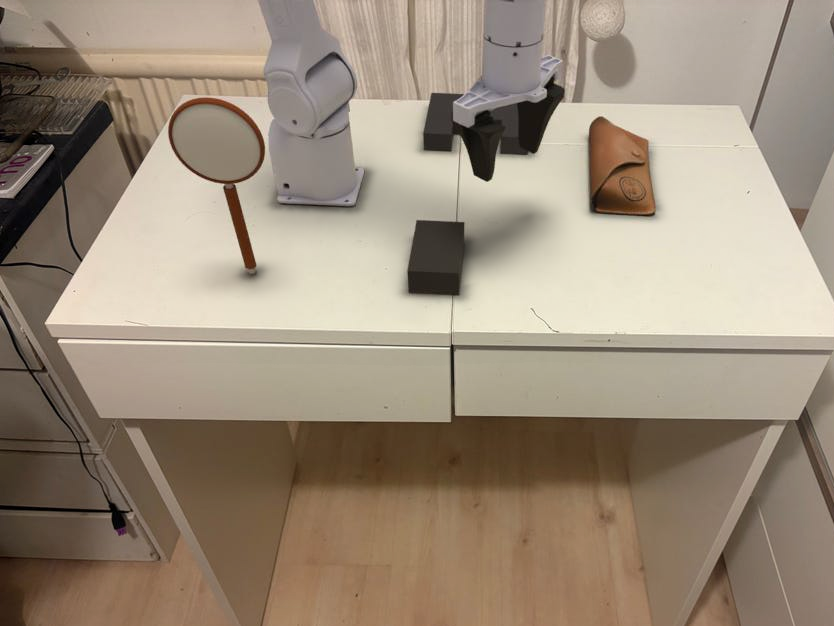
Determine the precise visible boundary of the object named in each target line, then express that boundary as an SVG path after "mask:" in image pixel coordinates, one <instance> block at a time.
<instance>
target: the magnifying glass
mask: <svg viewBox="0 0 834 626" xmlns="http://www.w3.org/2000/svg"><path fill="white" fill-rule="evenodd" d="M167 132H168V133H167V135H168V141H169V144H170V147H171V149H172V151H173V153H174V155H175V156H176V158H177V159H178V160H179V162H180V163H181V164H182V166H183V167H185V168H186V169H188V170H189V171H190V172H191V173H193V174H194V175H196V176H197V177H199V178H202V179H203V180H206V181H208V182H210V183H211V182H212V183H215V184H221V185H223V187H222V189H223V193H224V196H225V200H226V203H227V207H228V210H229V214H230V218H231V221H232V224H233V225H232V226H233V229H234V231H235V236H236V239H237V242H238V247H239V249H240V254H241V257H242V261H243V264H244V268H245V269H246V270H248V273H249V274H251V275H252V274H253V275H254V274H255V273H256V272H257V270H256V268H257V262H256V258H255V254H254V250H253V246H252V243H251V239H250V234H249V231H248V227H247V223H246V219H245V215H244V212H243V208H242V205H241V202H240V197H239V193H238V190H237V186H236V184H240V183H242V182H245V181H247V180H249V179H251V178H252V177H254V176H255V175H256V174H257V173H258V172H259V170H260V169H261V167H262V166H263V164H264V161H265V157H266V145H265V144H266V143H265V139H264V136H263V134H262V131H261V130H260V128H259V126H258V124H257V123H256V122H255V121H254V119H253V118H252V117H251V116H250V115H249V114H248V113H247V112H246V111H244V110H243V109H242V108H240V107H239V106H237V105H235V104H233V103H231V102H229V101H227V100H223V99H221V98H215V97H197V98H192V99H189V100H187V101H185V102H183V103H182V104H181V105H179V106H178V107H177V108H176V109H175V110H174V112H173V113H172V115H171V116H170V119H169V122H168V126H167Z"/></svg>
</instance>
